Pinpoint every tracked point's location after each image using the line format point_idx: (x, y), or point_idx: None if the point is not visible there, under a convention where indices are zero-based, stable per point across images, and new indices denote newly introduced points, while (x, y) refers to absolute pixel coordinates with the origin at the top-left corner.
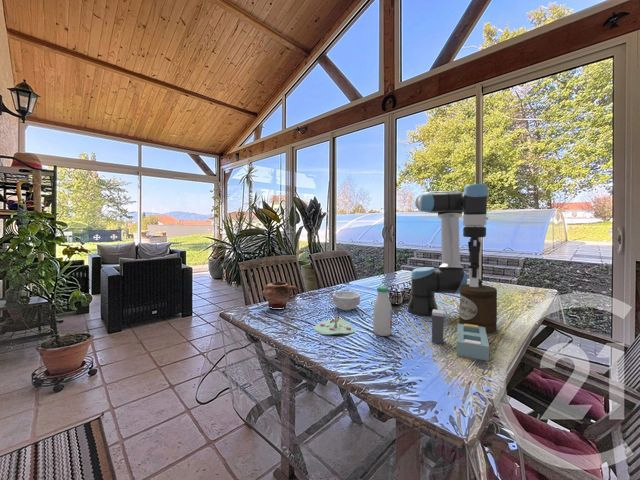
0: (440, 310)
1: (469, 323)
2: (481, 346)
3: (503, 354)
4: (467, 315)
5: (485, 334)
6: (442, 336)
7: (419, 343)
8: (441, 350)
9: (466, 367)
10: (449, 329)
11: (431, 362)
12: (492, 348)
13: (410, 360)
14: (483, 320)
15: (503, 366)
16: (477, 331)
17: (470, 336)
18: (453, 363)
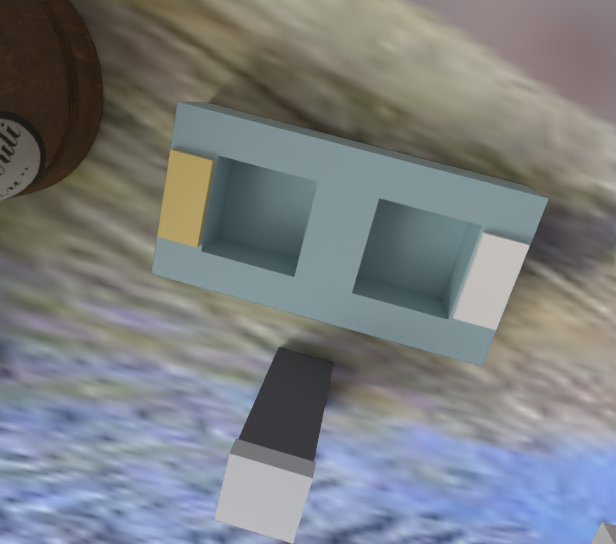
0: (233, 478)
1: (56, 161)
2: (531, 240)
3: (422, 64)
4: (13, 180)
5: (326, 148)
6: (328, 386)
7: (346, 469)
8: (417, 388)
9: (607, 322)
10: (100, 272)
11: (562, 462)
12: (343, 101)
13: (548, 540)
14: (51, 72)
15: (585, 126)
16: (222, 162)
17: (362, 252)
18: (566, 370)
